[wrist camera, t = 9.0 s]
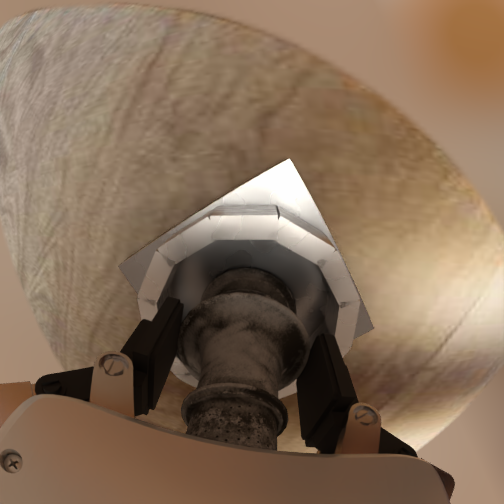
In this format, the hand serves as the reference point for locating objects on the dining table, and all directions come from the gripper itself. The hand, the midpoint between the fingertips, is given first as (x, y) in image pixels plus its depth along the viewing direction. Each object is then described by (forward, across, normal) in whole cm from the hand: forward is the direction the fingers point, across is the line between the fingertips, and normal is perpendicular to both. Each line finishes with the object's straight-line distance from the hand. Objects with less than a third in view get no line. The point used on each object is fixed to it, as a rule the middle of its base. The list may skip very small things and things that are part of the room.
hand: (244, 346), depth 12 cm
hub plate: (+5, 0, 0) cm, 5 cm away
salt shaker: (+4, 0, 0) cm, 4 cm away
